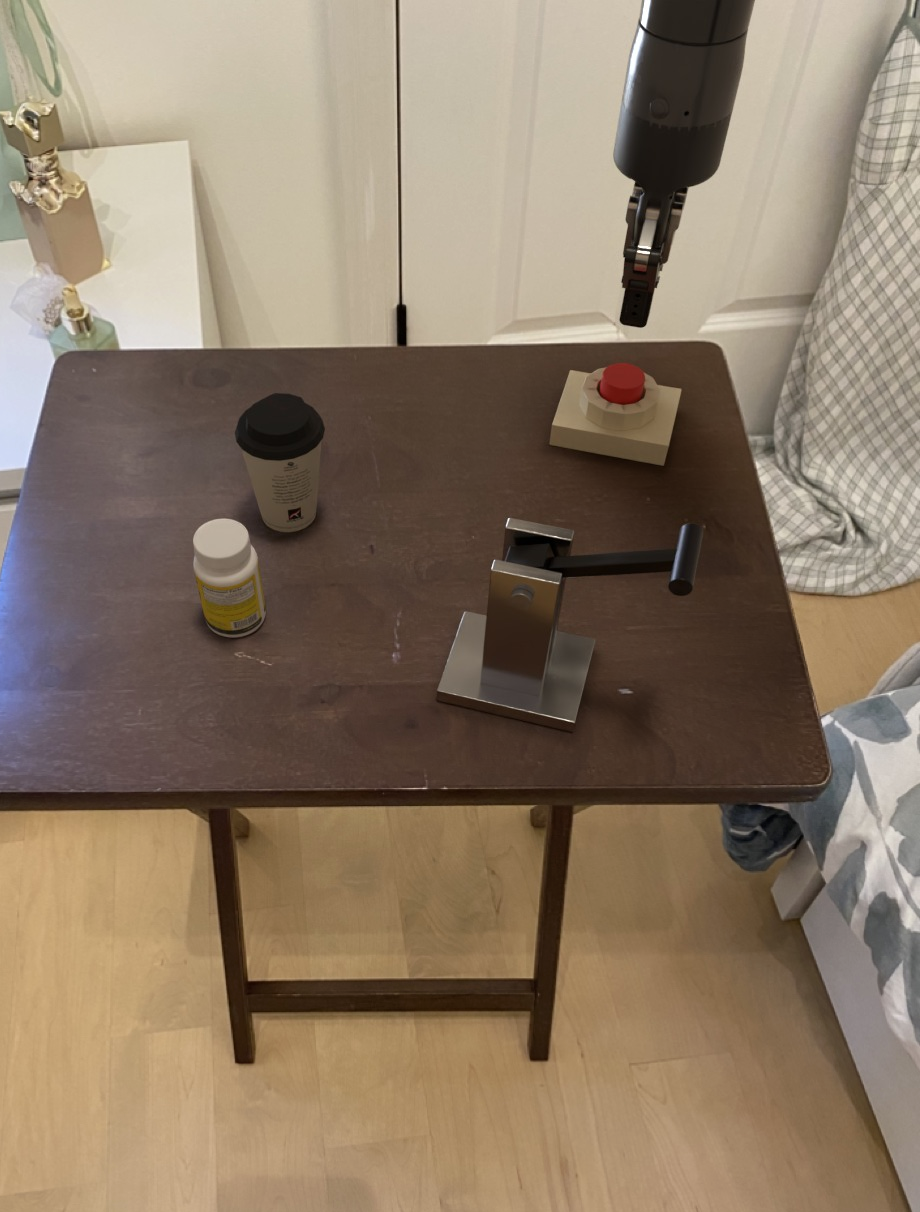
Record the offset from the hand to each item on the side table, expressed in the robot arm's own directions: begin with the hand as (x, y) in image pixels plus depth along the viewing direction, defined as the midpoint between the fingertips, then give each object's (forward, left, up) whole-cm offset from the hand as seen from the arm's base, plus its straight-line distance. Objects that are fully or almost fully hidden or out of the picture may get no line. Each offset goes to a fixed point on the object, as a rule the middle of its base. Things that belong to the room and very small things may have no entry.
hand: (633, 320), depth 88 cm
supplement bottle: (+24, +31, -11) cm, 40 cm away
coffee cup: (+24, +19, -11) cm, 32 cm away
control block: (0, 0, -11) cm, 11 cm away
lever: (-3, +30, +1) cm, 30 cm away
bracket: (+2, +30, -11) cm, 32 cm away
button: (0, 0, -7) cm, 7 cm away
